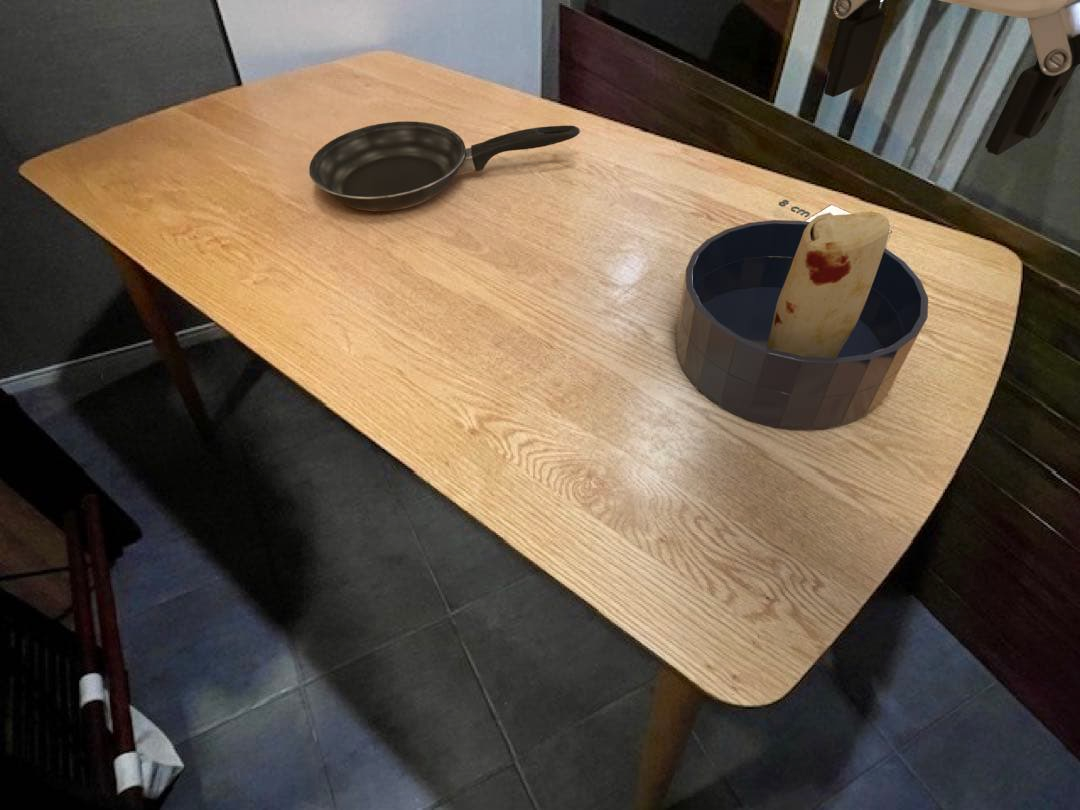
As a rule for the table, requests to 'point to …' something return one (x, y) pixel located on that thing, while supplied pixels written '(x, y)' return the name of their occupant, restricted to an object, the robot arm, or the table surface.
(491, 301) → the table surface
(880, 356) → the pot
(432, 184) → the frying pan
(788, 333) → the food model
